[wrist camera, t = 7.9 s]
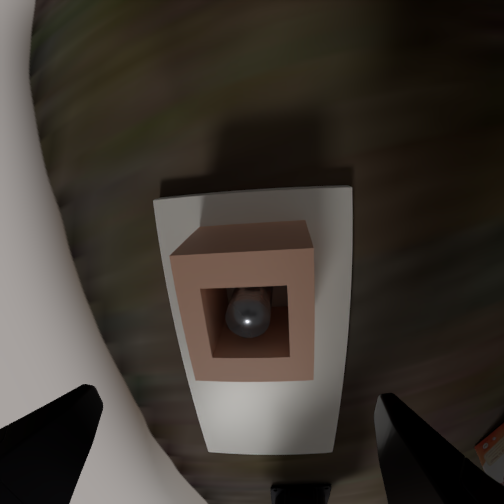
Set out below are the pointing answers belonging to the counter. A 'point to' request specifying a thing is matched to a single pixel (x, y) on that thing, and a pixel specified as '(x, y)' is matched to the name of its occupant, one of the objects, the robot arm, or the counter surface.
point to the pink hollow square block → (247, 275)
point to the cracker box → (493, 454)
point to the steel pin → (249, 311)
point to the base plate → (326, 306)
